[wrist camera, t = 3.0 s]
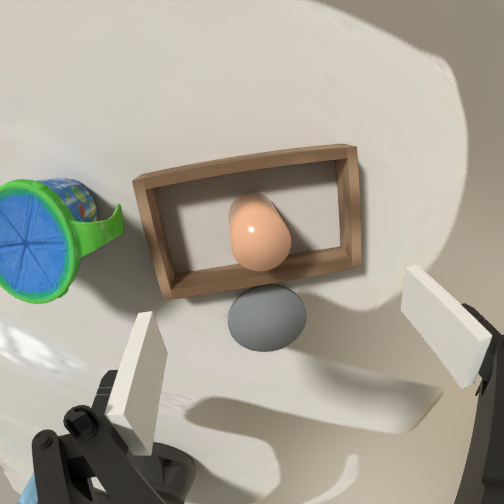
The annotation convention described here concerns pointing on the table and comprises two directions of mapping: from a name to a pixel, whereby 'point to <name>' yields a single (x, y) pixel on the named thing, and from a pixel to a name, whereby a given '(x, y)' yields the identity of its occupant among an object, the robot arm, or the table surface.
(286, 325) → the slate coaster
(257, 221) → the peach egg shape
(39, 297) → the snack cup
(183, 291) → the tray
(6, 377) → the table surface
